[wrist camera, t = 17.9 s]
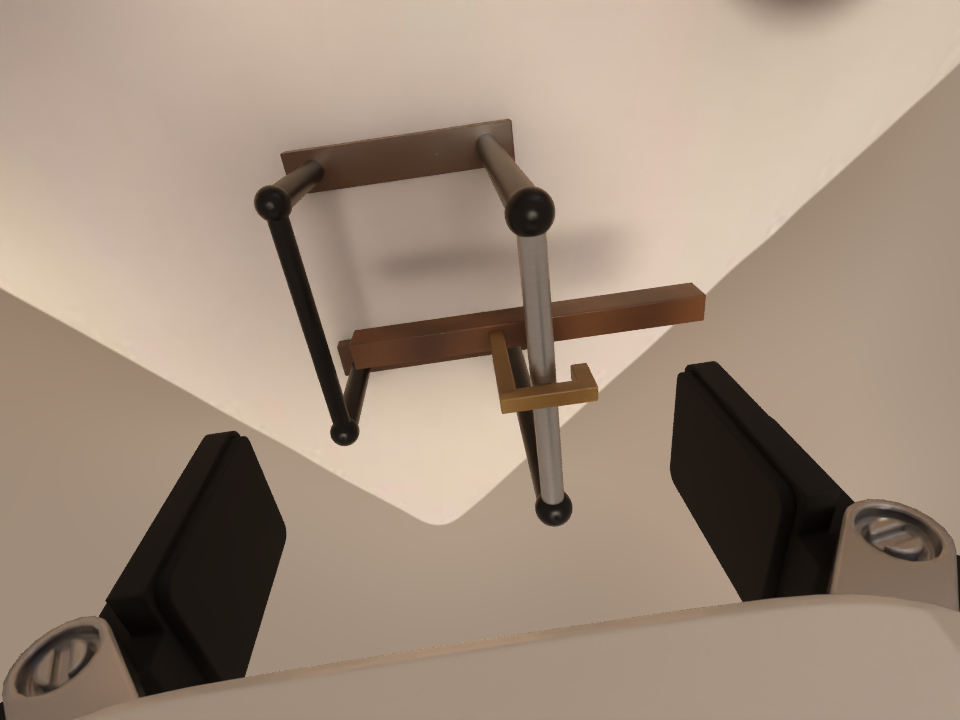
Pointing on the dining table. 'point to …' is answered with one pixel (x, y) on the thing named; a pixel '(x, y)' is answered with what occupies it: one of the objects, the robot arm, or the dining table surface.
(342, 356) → the rack
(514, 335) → the hanger
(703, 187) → the dining table surface
